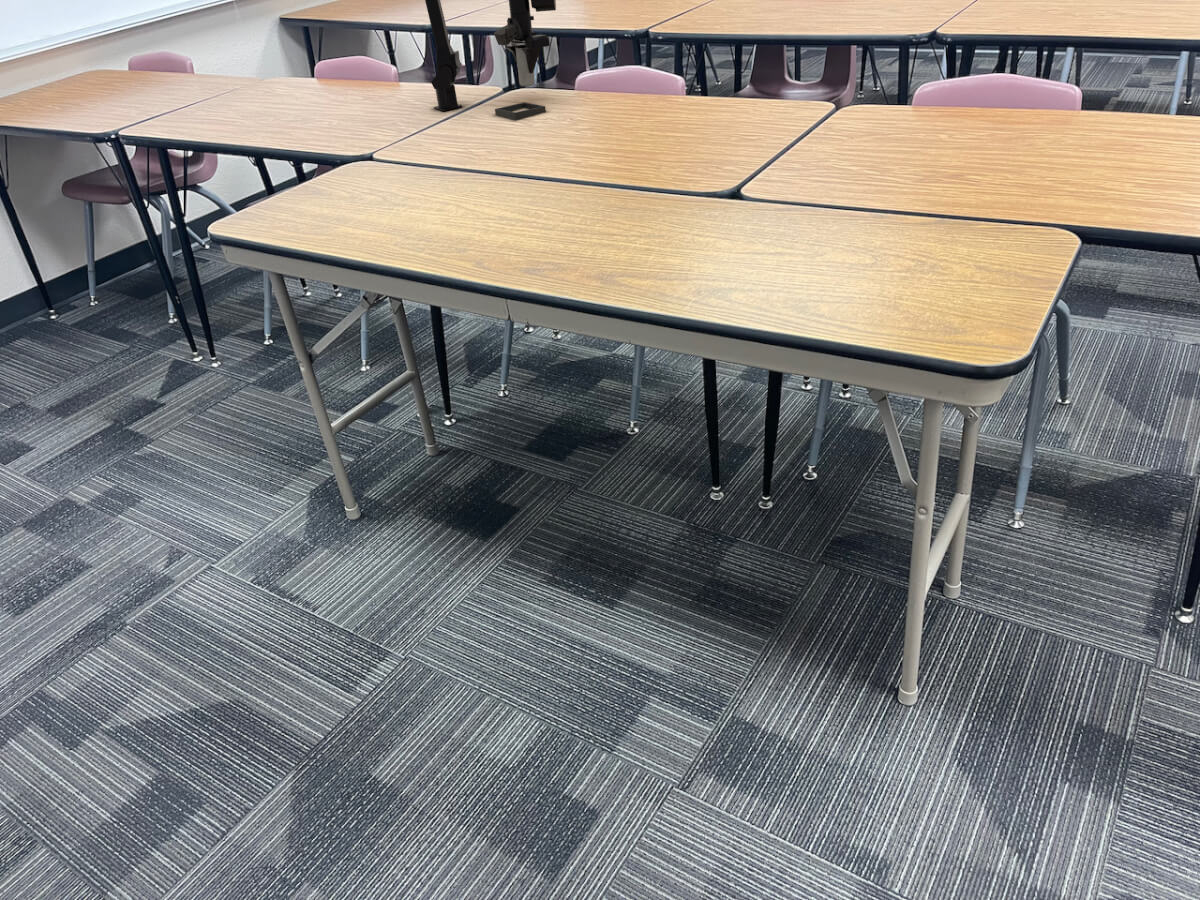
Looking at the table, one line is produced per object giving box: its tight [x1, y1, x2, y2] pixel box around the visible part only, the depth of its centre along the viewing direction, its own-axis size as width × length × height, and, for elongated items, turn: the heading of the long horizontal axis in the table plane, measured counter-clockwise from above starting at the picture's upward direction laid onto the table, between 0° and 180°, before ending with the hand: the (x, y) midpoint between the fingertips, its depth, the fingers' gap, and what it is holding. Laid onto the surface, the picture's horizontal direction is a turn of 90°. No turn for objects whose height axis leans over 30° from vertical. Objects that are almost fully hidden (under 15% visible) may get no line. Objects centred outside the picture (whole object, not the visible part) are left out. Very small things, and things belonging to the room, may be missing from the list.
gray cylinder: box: [516, 45, 536, 87], centre depth 247 cm, size 4×4×10 cm
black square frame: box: [494, 101, 547, 121], centre depth 241 cm, size 10×10×2 cm
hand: (526, 72), depth 248 cm, fingers closed on gray cylinder, 4 cm apart
